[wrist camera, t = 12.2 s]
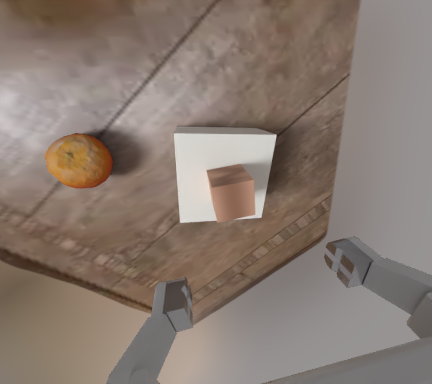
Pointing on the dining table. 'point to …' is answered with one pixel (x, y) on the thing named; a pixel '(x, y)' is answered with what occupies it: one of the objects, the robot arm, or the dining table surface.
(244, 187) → the terracotta block
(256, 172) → the cream box
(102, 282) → the dining table surface
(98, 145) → the fruit
